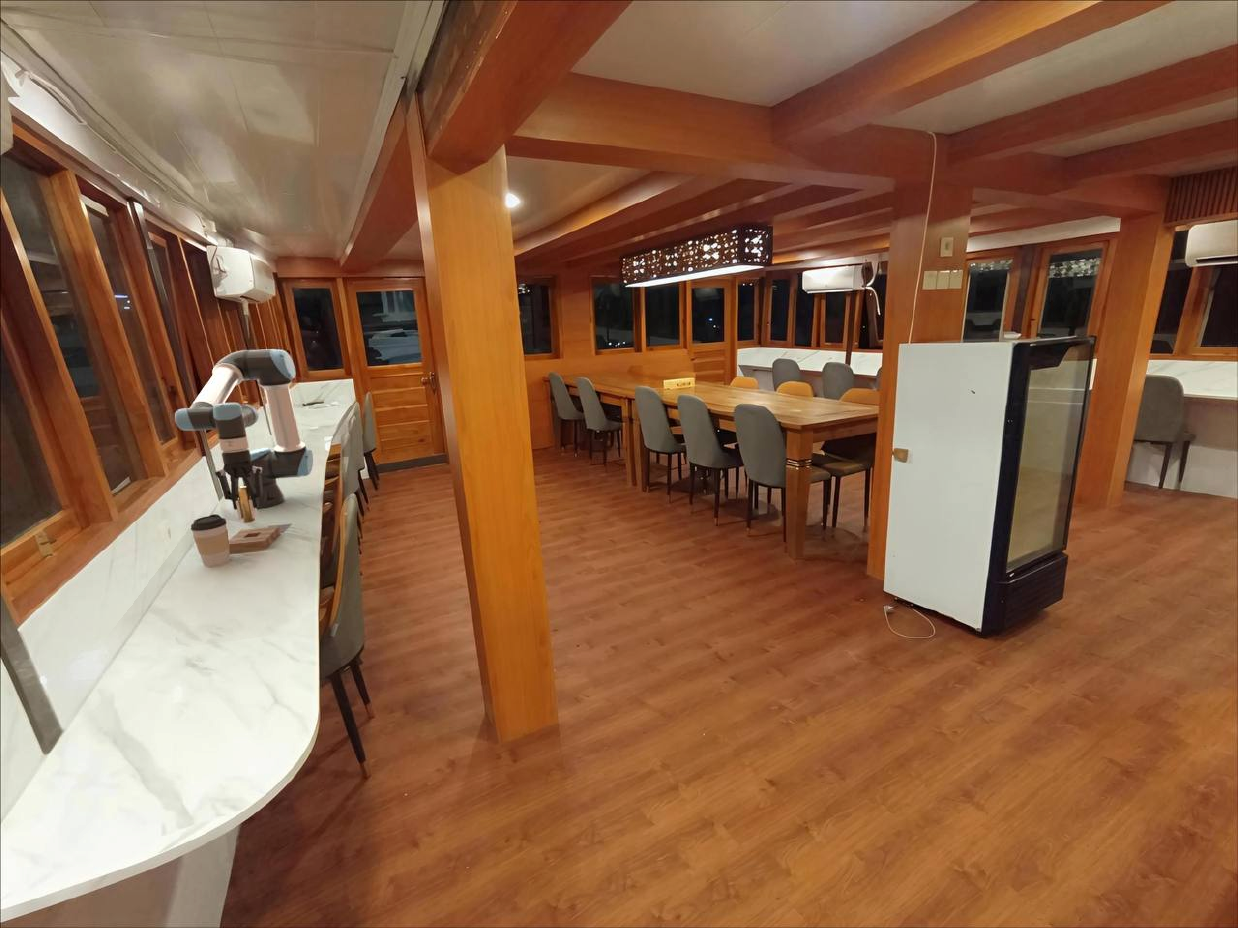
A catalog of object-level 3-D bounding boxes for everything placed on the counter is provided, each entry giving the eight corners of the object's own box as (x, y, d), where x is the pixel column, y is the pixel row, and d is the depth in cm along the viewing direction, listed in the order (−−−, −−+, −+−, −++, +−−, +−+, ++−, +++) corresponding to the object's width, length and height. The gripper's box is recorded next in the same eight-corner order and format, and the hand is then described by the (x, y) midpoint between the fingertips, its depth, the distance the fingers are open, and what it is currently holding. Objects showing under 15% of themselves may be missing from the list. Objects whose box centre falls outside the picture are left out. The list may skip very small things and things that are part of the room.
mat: (268, 526, 199) (268, 525, 199) (292, 524, 201) (292, 523, 201) (258, 536, 189) (258, 535, 189) (283, 533, 191) (283, 532, 191)
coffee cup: (220, 568, 164) (210, 522, 160) (192, 568, 164) (181, 523, 161) (241, 556, 173) (232, 512, 169) (214, 556, 173) (204, 513, 169)
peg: (245, 520, 181) (239, 486, 178) (256, 519, 182) (249, 485, 179) (241, 523, 178) (235, 489, 175) (252, 522, 179) (246, 488, 176)
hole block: (243, 538, 187) (241, 529, 186) (280, 535, 190) (279, 526, 189) (225, 554, 174) (223, 544, 173) (266, 550, 177) (264, 540, 176)
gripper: (201, 454, 168) (216, 523, 174) (258, 450, 172) (271, 518, 178) (212, 449, 175) (226, 516, 181) (267, 446, 179) (279, 511, 185)
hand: (248, 517), depth 179 cm, fingers closed on peg, 3 cm apart
